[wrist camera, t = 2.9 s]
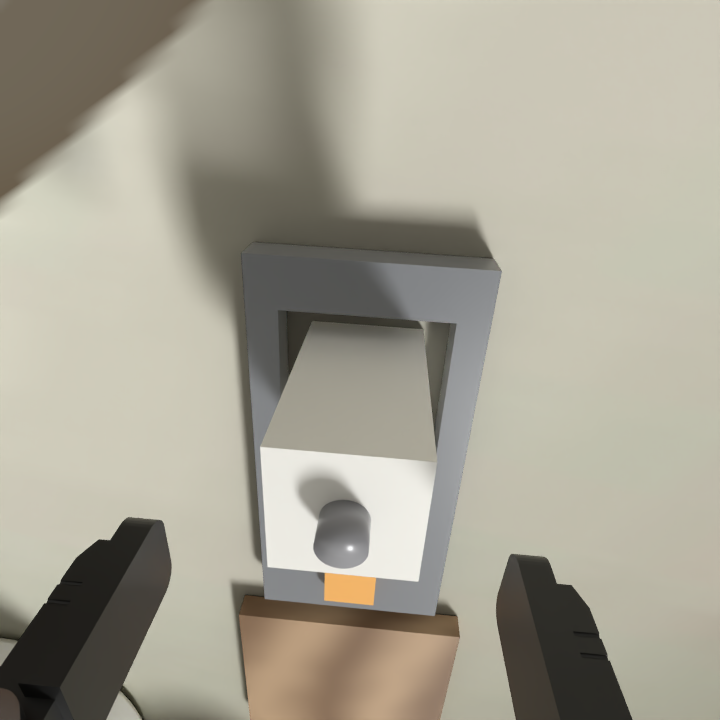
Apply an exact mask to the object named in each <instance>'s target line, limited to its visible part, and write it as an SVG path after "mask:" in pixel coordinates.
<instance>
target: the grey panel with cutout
mask: <svg viewBox="0 0 720 720" xmlns="http://www.w3.org/2000/svg"><path fill="white" fill-rule="evenodd" d="M241 259H242V274H243V288H244V303H245V318H246V332H247V347H248V362H249V376H250V391H251V405H252V420H253V435H254V449H255V464H256V479H257V493H258V508H259V523H260V537H261V552H262V566H263V581H264V596H265V599H270V600H280V601H290V602H300V603H309V604H319V605H329V606H339V607H349V608H359V609H369V610H379V611H389V612H399V613H409V614H419V615H429V616H435V612H436V607H437V602H438V597H439V592H440V586H441V581H442V576H443V571H444V566H445V561H446V556H447V550H448V545H449V540H450V535H451V530H452V525H453V520H454V514H455V509H456V504H457V499H458V494H459V489H460V483H461V478H462V473H463V468H464V463H465V458H466V453H467V447H468V442H469V437H470V432H471V427H472V422H473V417H474V411H475V406H476V401H477V396H478V391H479V386H480V381H481V375H482V370H483V365H484V360H485V355H486V350H487V344H488V339H489V334H490V329H491V324H492V319H493V314H494V308H495V303H496V298H497V293H498V288H499V283H500V278H501V272H502V271H501V269H500V268H499V266H498V264H497V263H496V261H495V259H492V258H478V257H463V256H449V255H434V254H420V253H405V252H390V251H376V250H361V249H347V248H332V247H317V246H303V245H288V244H274V243H259V242H253V243H251V244H250V245H249V246H248V247H247V248H246V249H245V250H244V251H243V252H242V253H241ZM287 311H295V312H308V313H321V314H335V315H348V316H362V317H375V318H388V319H402V320H415V321H429V322H442V323H450V329H449V336H448V343H447V349H446V356H445V363H444V369H443V376H442V383H441V389H440V396H439V403H438V409H437V416H436V423H435V429H434V435H435V445H436V454H437V468H436V474H435V480H434V486H433V493H432V499H431V505H430V512H429V518H428V524H427V531H426V537H425V543H424V550H423V556H422V562H421V569H420V575H419V581H418V582H416V581H405V580H395V579H385V578H375V577H364V576H354V575H344V574H333V573H323V572H313V571H303V570H292V569H282V568H272V567H267V550H266V534H265V518H264V502H263V486H262V470H261V454H260V446H261V443H262V441H263V439H264V436H265V434H266V431H267V429H268V427H269V424H270V422H271V419H272V417H273V415H274V412H275V410H276V407H277V405H278V402H279V400H280V398H281V395H282V393H283V390H284V388H285V386H286V383H287V381H288V378H289V377H288V336H287Z"/></svg>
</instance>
